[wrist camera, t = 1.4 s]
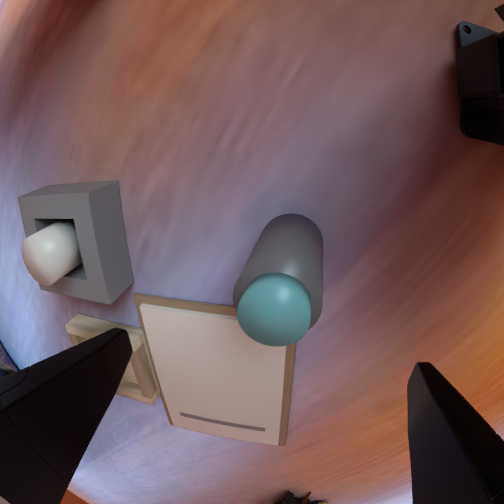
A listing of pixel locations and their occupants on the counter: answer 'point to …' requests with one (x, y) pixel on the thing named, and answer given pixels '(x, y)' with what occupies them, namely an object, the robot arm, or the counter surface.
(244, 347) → the white flat rectangular panel
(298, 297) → the marker
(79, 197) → the button housing
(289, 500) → the toy
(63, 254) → the button
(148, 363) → the holder tray
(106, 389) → the robot arm
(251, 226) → the counter surface
